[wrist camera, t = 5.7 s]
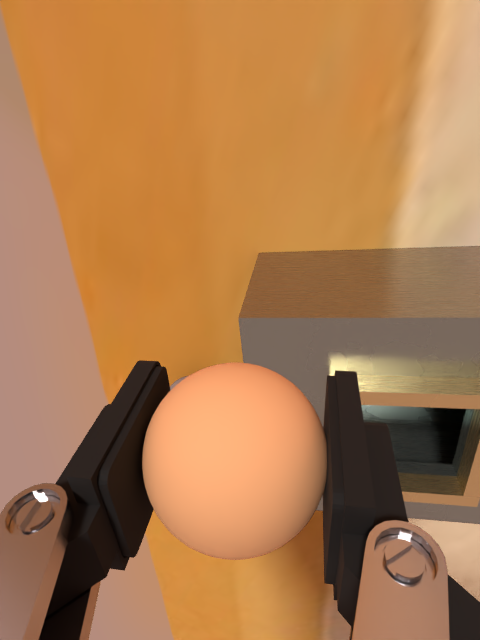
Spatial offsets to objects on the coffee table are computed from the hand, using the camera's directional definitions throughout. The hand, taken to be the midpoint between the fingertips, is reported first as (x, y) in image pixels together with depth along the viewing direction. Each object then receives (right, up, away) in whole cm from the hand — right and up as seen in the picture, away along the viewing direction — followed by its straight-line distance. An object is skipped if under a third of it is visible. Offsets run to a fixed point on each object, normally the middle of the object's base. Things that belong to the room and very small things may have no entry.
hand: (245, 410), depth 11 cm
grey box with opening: (+10, +1, +16) cm, 19 cm away
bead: (0, 0, +1) cm, 1 cm away
